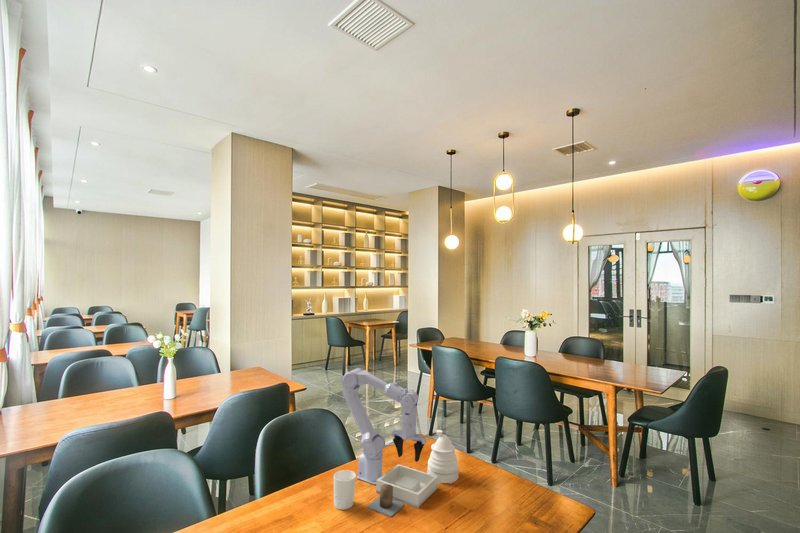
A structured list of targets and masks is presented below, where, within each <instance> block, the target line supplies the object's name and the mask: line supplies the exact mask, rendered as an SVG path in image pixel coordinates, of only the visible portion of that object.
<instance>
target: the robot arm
mask: <svg viewBox="0 0 800 533" xmlns="http://www.w3.org/2000/svg"><path fill="white" fill-rule="evenodd" d="M341 384H342V389H343V390H342V391H343V392H342V394H343V398H344V399H345V402H346V405H347V407H348V408H349V411H350V412H351V415H352V417H353V419H354V421H355V423H356V426H357V428H358V430H359V433H360V434H361V440H360V443H361V447H362V453H361V454H360V455H359V459H358V463H357V464H358V467H357V475H356V479H357V480H361V481H363V482H366V483H369V484H371V485H375V486H376V481H377V479H379V478H380V477H381V476H383V475H384V473H383V461H384V460H383V456H384V455H383V454H384V453H383V451H384V449H385V447H386V440H385V438H384V437H383V436H382V435H381V434H380V432H379V431H378V430H377V429H375V428H374V426H373V425H372V422H371V420H370V417H369V416H368V413H367V412H366V410H365V408H364V406H363V403H362V401H361V398H360V397H359V394H358V392H359V389H360V387H361V386H363V385H369V386H371V387H373V388H375V389H377V390H380V391H382V392H384V395H385V396H386V397H388V398H390V399H391V400H393V401H394V402H397V403H399V404H400V406H401V411H402V412H401V430H397V429H395V430H392V432H391V433H392V435H391V437H393V438H392V442H393V443H394V446H395V448H396V452H397V456H398V458H401V457H402V456H403V454H404V453H403V452H404V448H403V447H404V440H405V441H406V440H408V441H412V442H415V443H413V448H414V462H417V463H418V461H420V457H421V454H422V451H423V448H424V446H425V444H426V443H427V437H426V436H423V435H421V434H418V433H417V403H418V401H419V395H418V393H417V392H416V391H415V390H413V389H408V388H404V387H402V386H400V385H398V383H397V382H389V383H387V382H385V381H384V380H382V379H380V378H379V377H377V376H375V375H373V374H372V373H370V372H369V371H368V370H364V369H363V368H361V367H356V368H354V369H353V370H351V371H347V372H345V373H344V375H343V377H342V379H341Z"/></svg>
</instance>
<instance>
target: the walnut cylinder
mask: <svg viewBox="0 0 800 533" xmlns="http://www.w3.org/2000/svg"><path fill="white" fill-rule="evenodd" d="M379 496H380V507H381V508H384V509H388V508H391V507H392V501H393V500H394V499H393V486H392V485H389V484H384V485H381V487H380V494H379Z"/></svg>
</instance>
